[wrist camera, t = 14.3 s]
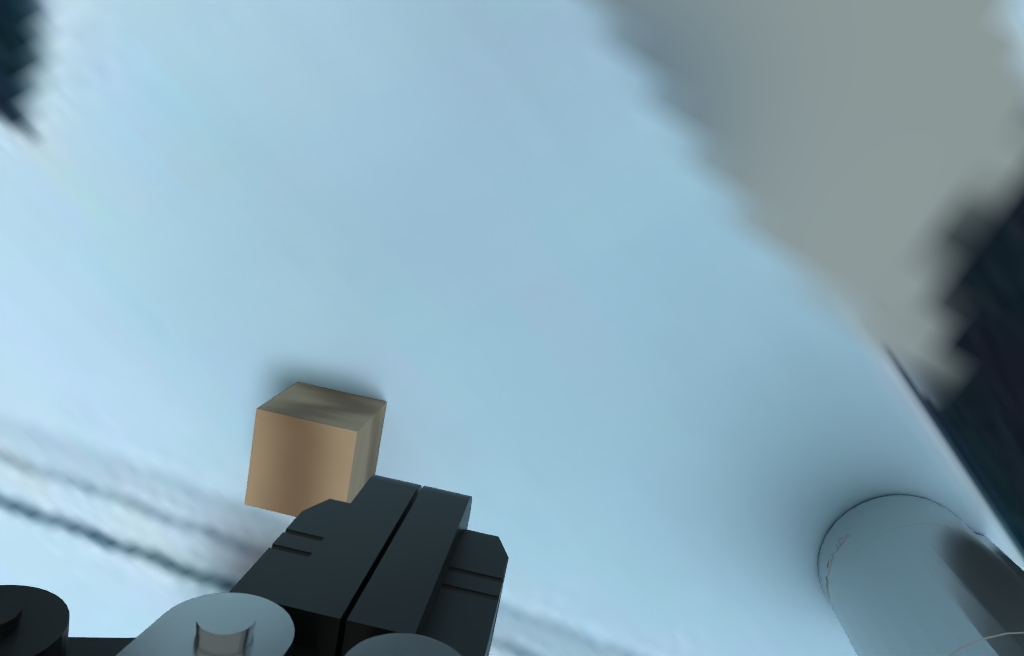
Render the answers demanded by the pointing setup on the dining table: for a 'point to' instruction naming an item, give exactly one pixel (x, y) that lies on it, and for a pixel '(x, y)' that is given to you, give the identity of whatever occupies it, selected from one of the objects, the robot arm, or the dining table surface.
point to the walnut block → (312, 448)
